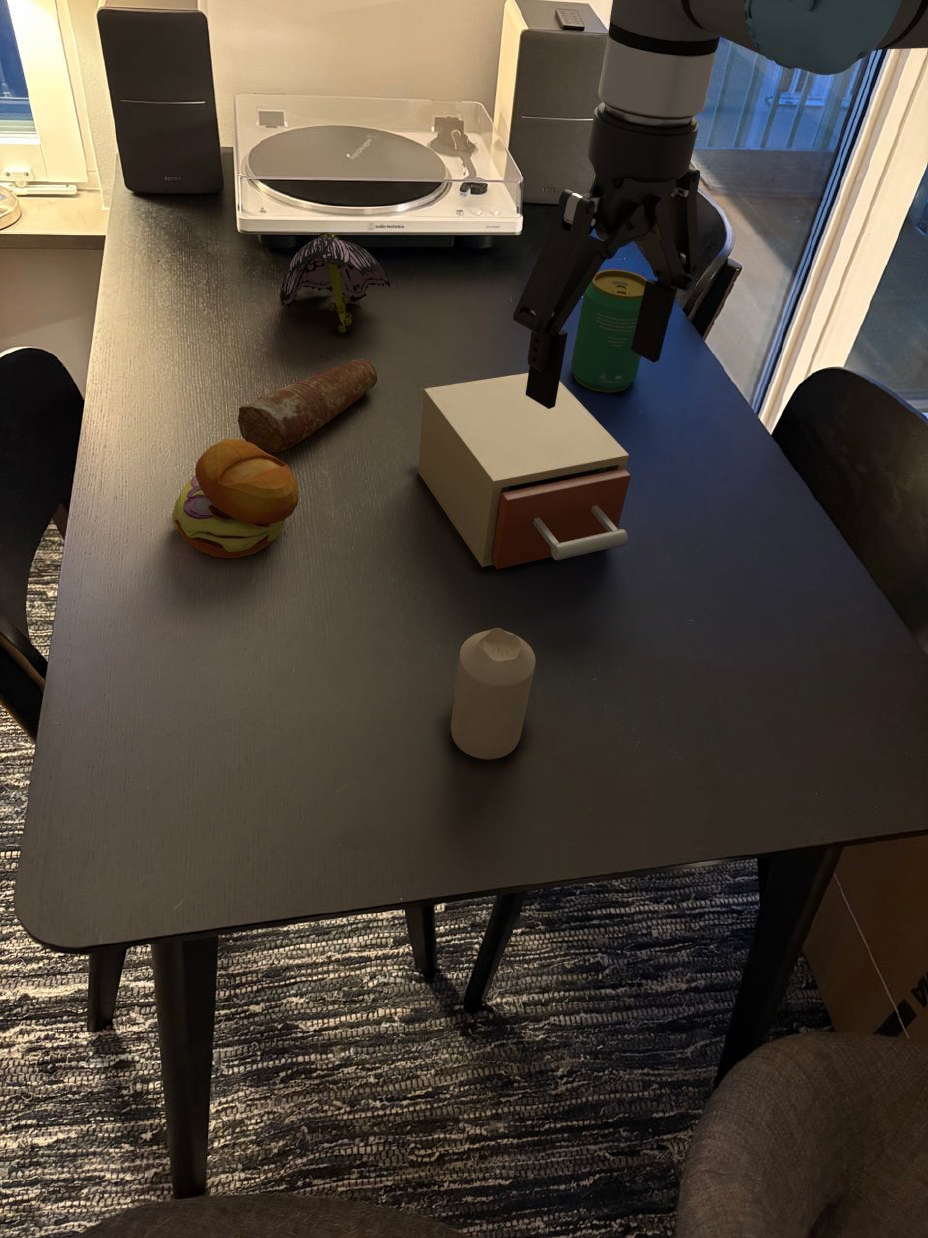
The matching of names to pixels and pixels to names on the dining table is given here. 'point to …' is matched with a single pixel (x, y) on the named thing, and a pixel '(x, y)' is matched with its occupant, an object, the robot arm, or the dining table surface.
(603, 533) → the drawer
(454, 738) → the candle
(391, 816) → the dining table surface
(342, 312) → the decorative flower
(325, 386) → the brown sausage
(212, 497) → the cheeseburger
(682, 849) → the dining table surface
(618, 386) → the beverage can
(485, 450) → the small drawer cabinet
